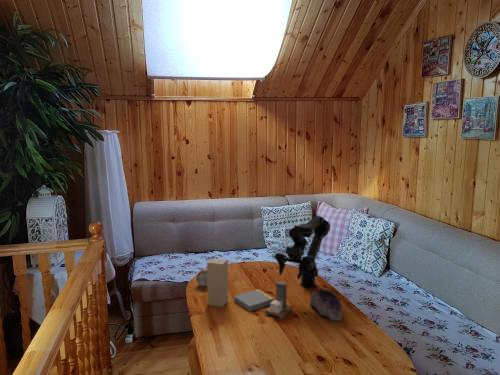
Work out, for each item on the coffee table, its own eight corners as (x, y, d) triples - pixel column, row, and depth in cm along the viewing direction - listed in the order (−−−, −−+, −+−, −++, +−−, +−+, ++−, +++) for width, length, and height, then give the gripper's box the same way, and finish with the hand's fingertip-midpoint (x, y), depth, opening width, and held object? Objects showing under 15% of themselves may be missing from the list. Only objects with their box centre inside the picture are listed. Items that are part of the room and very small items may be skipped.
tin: (225, 285, 215) (225, 270, 213) (224, 288, 212) (224, 272, 210) (197, 284, 216) (196, 269, 215) (195, 287, 213) (195, 271, 212)
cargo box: (274, 308, 185) (274, 299, 184) (282, 310, 183) (282, 301, 182) (270, 311, 181) (270, 303, 181) (278, 313, 179) (278, 305, 179)
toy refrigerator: (228, 300, 196) (228, 259, 193) (222, 307, 190) (222, 264, 186) (213, 298, 199) (212, 257, 196) (207, 304, 192) (206, 262, 189)
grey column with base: (274, 305, 191) (275, 279, 189) (292, 310, 187) (292, 283, 184) (264, 314, 183) (264, 287, 180) (282, 319, 178) (283, 291, 176)
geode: (353, 319, 178) (351, 299, 175) (329, 327, 174) (328, 306, 172) (328, 299, 197) (327, 280, 194) (307, 305, 193) (305, 286, 191)
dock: (258, 294, 204) (258, 289, 203) (273, 303, 193) (273, 298, 193) (234, 301, 196) (234, 296, 196) (249, 311, 186) (249, 306, 185)
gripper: (276, 236, 197) (265, 265, 190) (312, 242, 188) (302, 273, 181) (283, 248, 205) (273, 276, 198) (318, 254, 196) (308, 283, 189)
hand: (288, 277), depth 191 cm, fingers open, 9 cm apart
